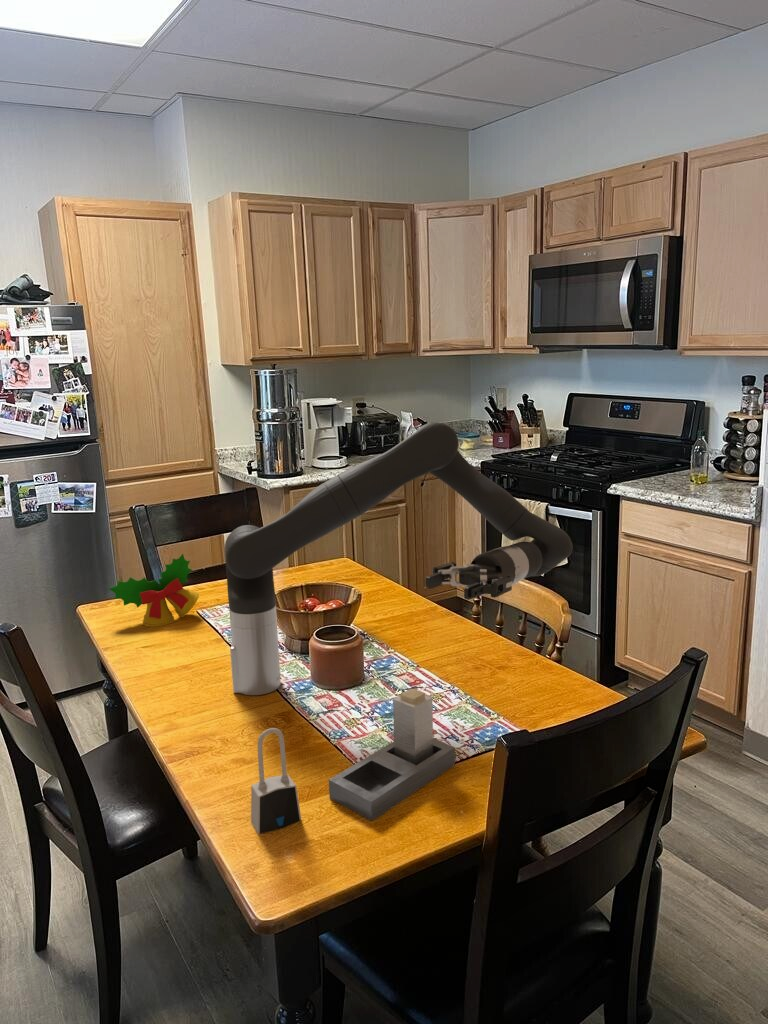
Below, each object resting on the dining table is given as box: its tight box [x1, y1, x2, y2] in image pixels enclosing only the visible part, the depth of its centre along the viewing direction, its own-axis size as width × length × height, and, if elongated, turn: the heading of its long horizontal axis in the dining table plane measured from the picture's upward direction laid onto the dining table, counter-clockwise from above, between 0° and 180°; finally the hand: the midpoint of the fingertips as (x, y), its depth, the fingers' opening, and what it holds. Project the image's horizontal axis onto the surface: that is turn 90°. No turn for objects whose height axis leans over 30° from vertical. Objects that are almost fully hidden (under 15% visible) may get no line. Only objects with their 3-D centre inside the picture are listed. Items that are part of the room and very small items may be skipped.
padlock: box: [250, 727, 302, 835], centre depth 114 cm, size 7×4×15 cm, turn 117°
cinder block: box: [328, 737, 456, 822], centre depth 124 cm, size 20×9×3 cm, turn 137°
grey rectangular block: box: [392, 688, 434, 765], centre depth 127 cm, size 4×4×13 cm
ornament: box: [108, 553, 200, 628], centre depth 196 cm, size 21×8×15 cm, turn 108°
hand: (446, 588), depth 135 cm, fingers open, 8 cm apart
